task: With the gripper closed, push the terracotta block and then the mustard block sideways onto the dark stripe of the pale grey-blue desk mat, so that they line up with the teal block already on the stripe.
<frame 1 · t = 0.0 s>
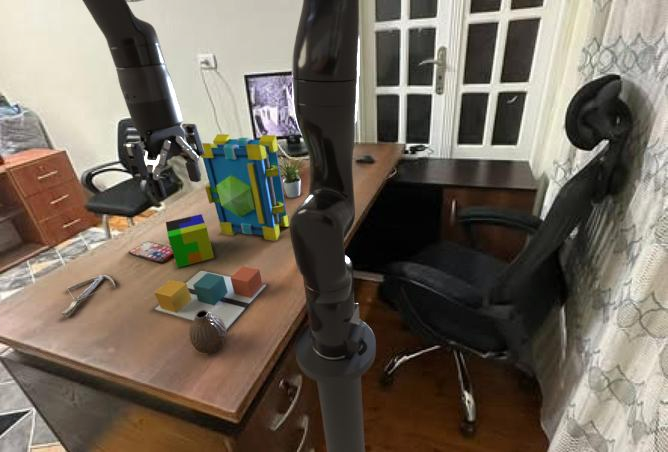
hand: (179, 189, 64), 31 cm above the table, tool pointing down, fingers open, 8 cm apart
mustard block: (176, 304, 84), resting on desk mat
teal block: (213, 296, 85), resting on desk mat
puzzle toy: (194, 255, 104), on the table, touching smartphone
crossbow: (87, 296, 90), on the table
terracotta block: (249, 289, 87), resting on desk mat
blue yellow-cornered frame: (256, 230, 114), on the table
house plant: (290, 195, 138), on the table
smartphone: (154, 253, 106), on the table, touching puzzle toy
vase: (212, 346, 72), on the table
desk mat: (212, 297, 86), on the table
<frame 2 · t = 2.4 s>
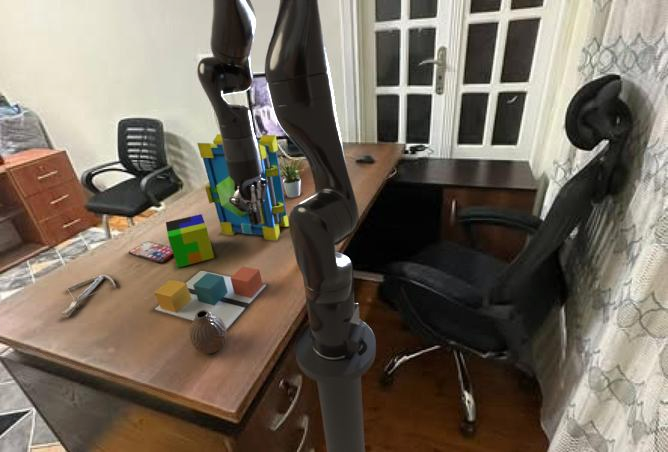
hand: (256, 223, 86), 15 cm above the table, tool pointing down, fingers closed
nothing on the table moved.
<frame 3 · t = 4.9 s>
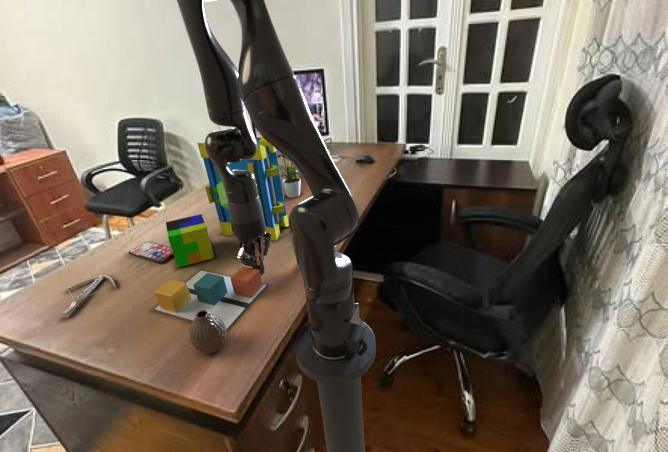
hand: (259, 274, 90), 1 cm above the table, tool pointing down, fingers closed
terracotta block: (248, 289, 87), resting on desk mat, touching gripper
everything else where it was.
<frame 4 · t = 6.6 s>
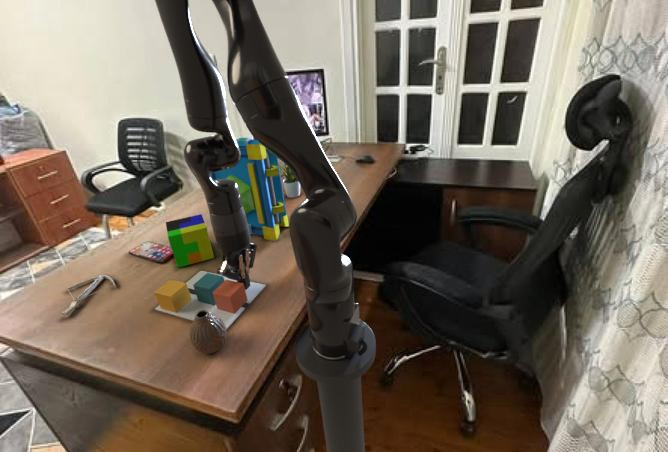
hand: (245, 287, 86), 1 cm above the table, tool pointing down, fingers closed
terracotta block: (232, 304, 82), resting on desk mat, touching gripper
everything else where it was.
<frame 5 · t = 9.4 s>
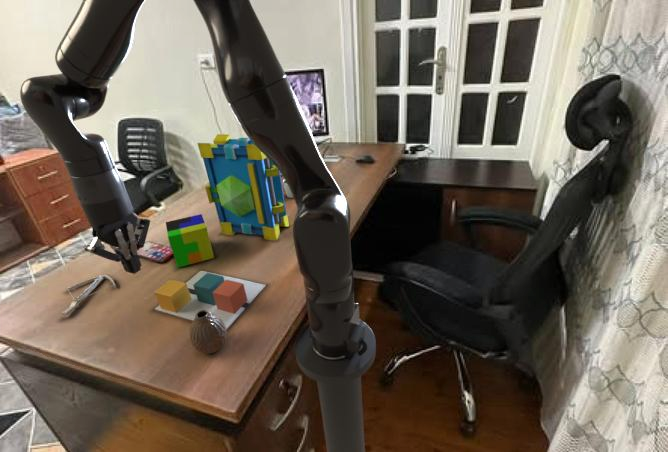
hand: (134, 271, 72), 15 cm above the table, tool pointing down, fingers closed
terracotta block: (232, 304, 82), resting on desk mat
everything else where it was.
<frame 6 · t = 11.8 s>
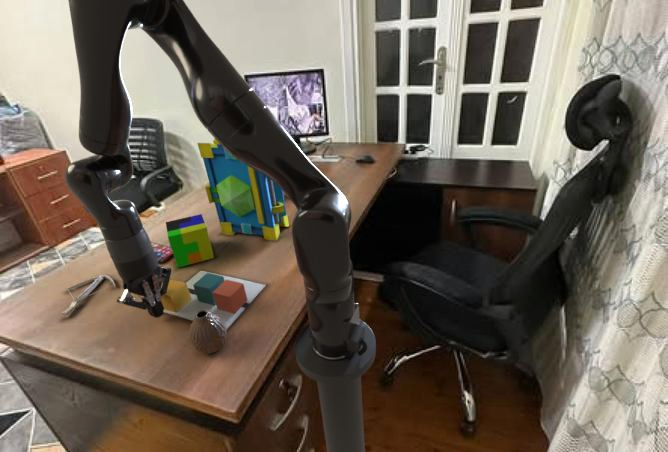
hand: (158, 315, 79), 1 cm above the table, tool pointing down, fingers closed
mustard block: (176, 304, 84), resting on desk mat, touching gripper
everything else where it was.
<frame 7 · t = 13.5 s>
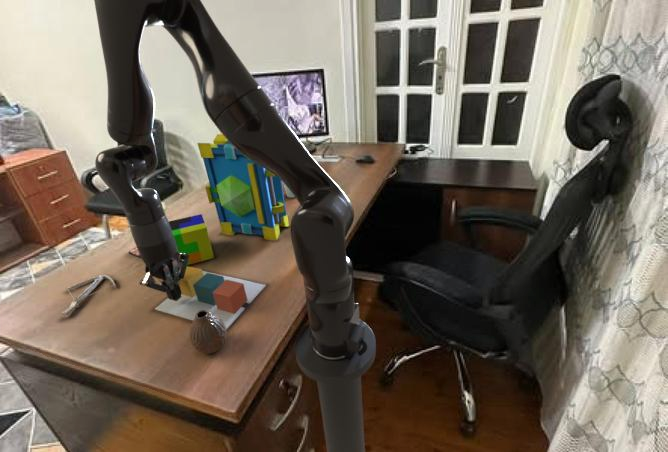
hand: (176, 298, 84), 2 cm above the table, tool pointing down, fingers closed
mustard block: (192, 289, 89), resting on desk mat, touching gripper
everything else where it was.
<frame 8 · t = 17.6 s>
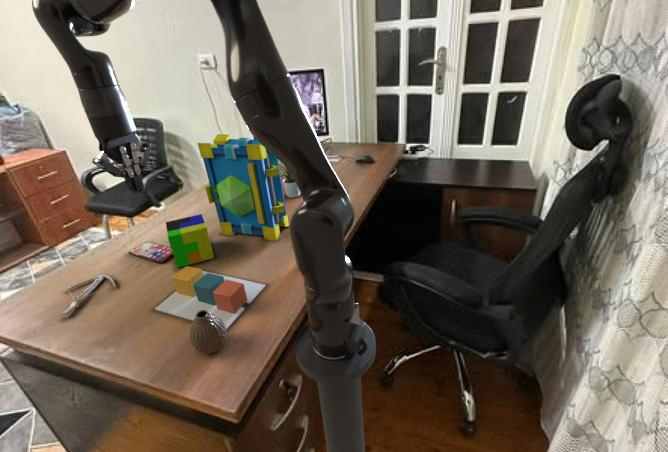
hand: (138, 191, 77), 27 cm above the table, tool pointing down, fingers closed
mustard block: (192, 289, 89), resting on desk mat
everything else where it was.
at the end: terracotta block 0.9 cm from the target spot, resting on desk mat; mustard block 0.8 cm from the target spot, resting on desk mat; teal block 0.0 cm from the target spot, resting on desk mat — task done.
